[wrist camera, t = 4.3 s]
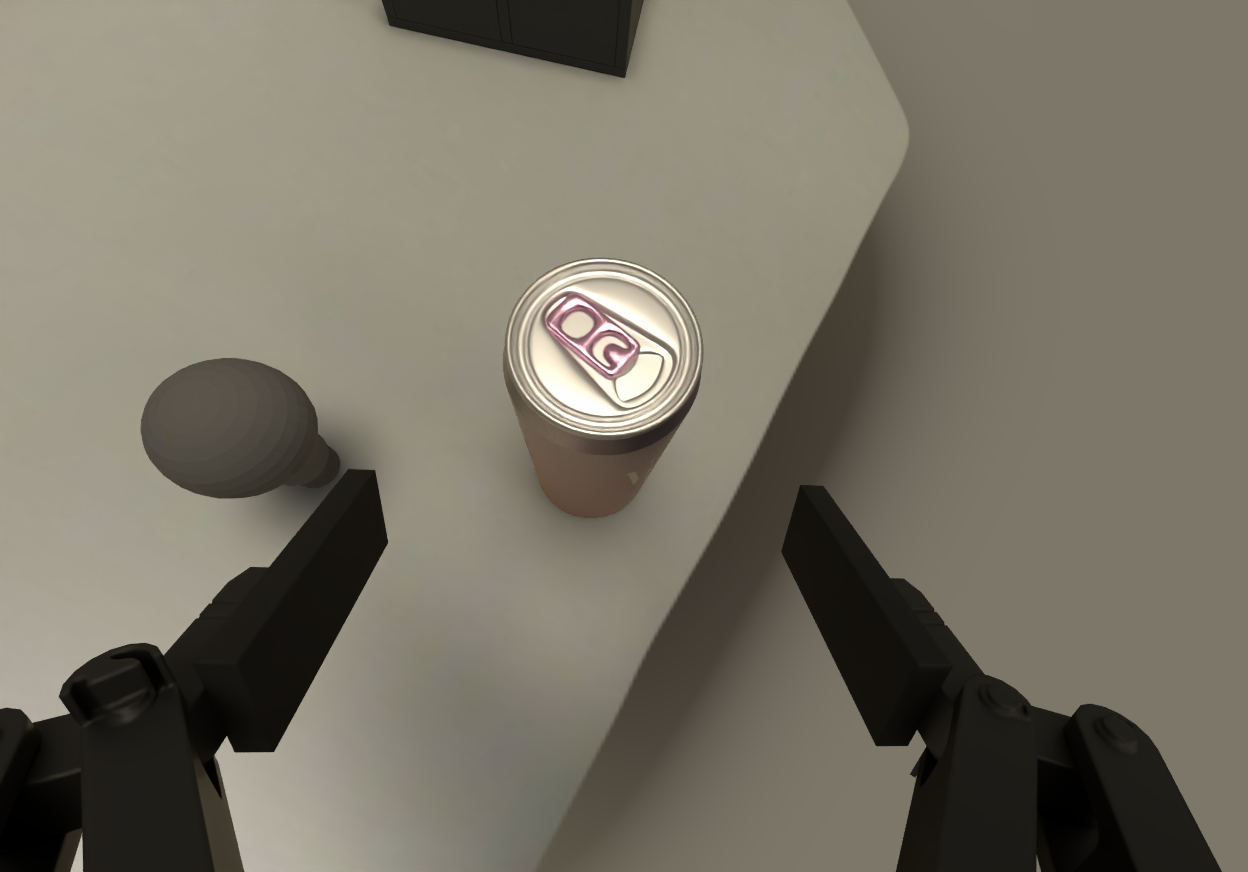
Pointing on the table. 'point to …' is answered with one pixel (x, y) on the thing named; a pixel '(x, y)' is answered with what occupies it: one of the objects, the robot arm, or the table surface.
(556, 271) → the beverage can
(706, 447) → the table surface
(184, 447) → the light bulb
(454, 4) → the tray
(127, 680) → the robot arm
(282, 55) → the table surface
